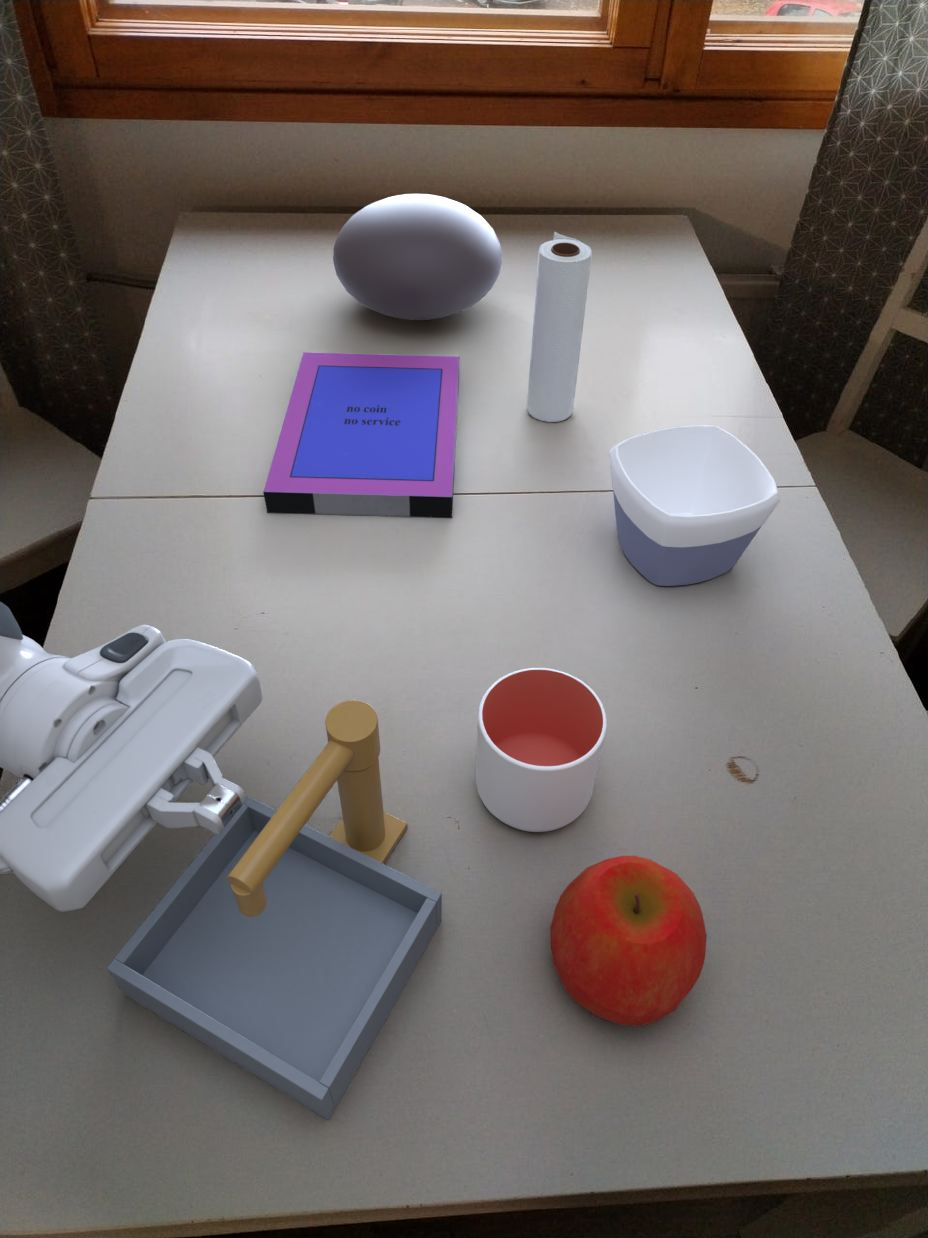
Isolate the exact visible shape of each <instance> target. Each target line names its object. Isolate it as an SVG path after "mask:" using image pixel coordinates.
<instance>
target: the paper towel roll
mask: <svg viewBox="0 0 928 1238" xmlns="http://www.w3.org/2000/svg"><path fill="white" fill-rule="evenodd" d="M537 255H538V256H537V267H536V279H535V280H536V281H535V293H534V306H533V307H534V308H533V319H532V332H531V333H532V334H531V345H530V346H531V347H530V357H529V358H530V359H529V371H528V383H527V385H528V386H527V396H526V397H527V399H526V410H527V412H528V414H529V415H530V416H531V417H532V418H533V419H536V420H538V421H541V422H546V423H547V422H548V423H559V422H563V421H564V420H567V419H569V418H570V417H571V416H572V414H573V411H574V406H575V397H576V390H577V383H578V382H577V381H578V374H579V373H578V372H579V364H580V356H581V347H582V339H583V331H584V323H585V315H586V308H587V299H588V290H589V283H590V274H591V265H592V258H593V250H592V249H591V247H590V245H588V244H586V243H584V242H582V241H580V240H578V239H577V238H573V237H569V236H567V235H563V234H560V233H559V232H556V231H554V232H553V239H551V240H548V241H545V242H544V243H541V244H540V246H539V249H538V254H537Z"/></svg>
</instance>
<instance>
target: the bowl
mask: <svg viewBox="0 0 928 1238" xmlns="http://www.w3.org/2000/svg"><path fill="white" fill-rule="evenodd" d="M608 454H609V455H608V456H609V466H610V467H609V468H610V475H611V487H612V494H613V503H614V514H615V524H616V532H617V533H616V535H617V539H618V542H619V544H620V547H621V549H622V552H623V554H624V555H625V557H626V559H627V560H628V561H629V562H630V564H631V565H632V566H633V567H634V569H636V571H637V572H639V573H640V574H641V575H642V576H643V577H644V578H645V579H646V580H647V581H648V582H650V583H651V584H653V585H654V586H661V587H672V586H673V587H674V586H686V585H692V584H698V583H702V582H706V581H709V580H712V579H715V578H717V577H719V576H722V575H724V574H725V573H727V572H729V571H731V570H732V569H733V568H734V566H735V565H736V564H737V562H738V561H739V560H740V558H741V557H742V555H743V553H744V552H745V550H747V548H748V547H749V545H750V543H751V542H752V541H753V540H754V538H755V536H757V534H758V532H759V531H760V529H761V528H762V526H764V524H765V523H767V520H768V519H769V518H770V516H771V515H772V513H773V512H774V511H775V509H776V507H777V506H778V505H779V503H780V502H781V498H780V493H779V490H778V485H777V483H776V480H775V478H774V477H773V476H772V474H771V473H770V471H769V469H768V468H767V466H766V465H765V464H764V463H763V462H762V460H761V459H760V458H759V456H758V455H757V454H756V453H755V452H754V451H753V450H752V449H750V448H749V446H747V445H746V444H745V443H744V442H742V441H741V440H740V439H738V437H736V435H734V434H733V433H730V432H729V431H727V430H726V429H724V428H722V427H720V426H718V425H712V424H711V425H709V424H691V425H679V426H671V427H665V428H659V429H654V430H651V431H647V432H643V433H639V434H636V435H633V436H631V437H628V438H626V439H624V440H622V441H620V442H619V443H616V444H615V445H614V446H613V447H612V448H611V449H610V451H609V453H608Z"/></svg>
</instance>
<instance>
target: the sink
mask: <svg viewBox="0 0 928 1238" xmlns="http://www.w3.org/2000/svg"><path fill="white" fill-rule="evenodd" d="M245 796H246V799H247V800H246V802H245V803H244V804H243V805H242V807H241V808H240V809H239V810H238V811H237V812H236V814H235V815H234V816H233V817H232V819H231V820H230V821H229V822H228V824H227V825H226V826H225V827H224V829H223V830H222V831H221V832H220V834H215V833H214V834H213V836H212V837H211V838H209V841H208V842H206V843H205V845H204V846H203V848H202V849H201V851H200V852H199V853H198V854H197V856H196V857H195V858H194V859H193V860H192V861H191V863H190V864H189V865H188V866H187V868H185V870H184V871H183V872H182V874H181V875H180V876H179V878H178V879H177V880H176V881H175V882H174V884H173V885H172V886H171V887H170V889H169V890H168V891H167V893H166V894H165V895H164V896H163V898H161V900H160V901H159V903H158V904H157V905H156V906H155V907H154V909H152V911H151V912H150V913H149V915H148V916H147V917H146V919H144V921H142V924H140V925H139V927H138V928H137V930H136V931H135V932H134V933H133V934H132V936H131V937H130V938H129V939H128V941H127V942H126V943H125V944H124V945H123V947H122V948H121V949H120V951H119V952H118V953H117V955H115V957H114V959H112V961H111V962H110V963H109V964H108V966H107V967H106V971H107V972H108V973H109V975H110V977H111V978H112V979H113V981H114V982H115V983H116V985H117V987H118V988H119V990H120V991H121V992H122V994H123V995H125V996H126V997H128V998H129V999H131V1000H133V1001H134V1002H135V1003H137V1004H139V1005H141V1006H143V1007H144V1008H145V1009H148V1010H149V1011H150V1012H153V1013H154V1014H155V1015H156V1016H159V1017H160V1018H162V1019H163V1020H165V1021H167V1022H168V1023H170V1024H171V1025H173V1026H175V1027H176V1028H178V1029H180V1030H181V1031H182V1032H184V1033H186V1034H187V1035H189V1036H191V1037H193V1038H194V1039H195V1040H197V1041H199V1042H201V1043H202V1044H203V1045H205V1046H207V1047H209V1048H210V1049H212V1050H213V1051H215V1052H217V1053H218V1054H220V1055H222V1056H223V1057H225V1058H226V1059H228V1060H229V1061H231V1062H233V1063H234V1064H236V1065H238V1066H239V1067H241V1068H242V1069H244V1070H246V1071H247V1072H249V1073H251V1074H252V1075H254V1076H256V1078H259V1079H261V1080H262V1081H264V1082H265V1083H267V1084H268V1085H270V1086H272V1087H273V1088H275V1089H276V1090H278V1091H280V1092H282V1093H283V1094H284V1095H286V1096H288V1097H290V1099H293V1100H294V1101H296V1102H298V1103H299V1104H301V1105H303V1106H304V1107H305V1108H307V1109H309V1110H311V1111H312V1112H314V1113H315V1114H317V1115H318V1116H320V1117H322V1118H324V1119H325V1120H327V1121H330V1119H331V1117H332V1115H333V1113H334V1112H335V1110H336V1108H337V1106H338V1105H339V1103H340V1101H341V1100H342V1098H343V1096H344V1094H345V1092H346V1091H347V1090H348V1087H349V1085H350V1084H351V1082H352V1080H353V1078H354V1076H355V1075H356V1073H357V1071H358V1070H359V1067H360V1066H361V1064H362V1063H363V1060H364V1059H365V1057H366V1055H367V1053H368V1052H369V1050H370V1048H371V1046H372V1045H373V1043H374V1041H375V1039H376V1037H377V1036H378V1034H379V1032H380V1030H381V1029H382V1027H383V1025H384V1024H385V1022H386V1020H387V1018H388V1017H389V1014H390V1013H391V1011H392V1009H393V1007H394V1006H395V1004H396V1003H397V1000H398V998H399V997H400V995H401V993H402V992H403V990H404V988H405V986H406V984H407V983H408V982H409V979H410V978H411V975H412V974H413V972H414V970H415V969H416V967H417V965H418V963H419V961H420V960H421V958H422V956H423V955H424V952H425V951H426V949H427V947H428V946H429V944H430V942H431V941H432V938H433V937H434V935H435V934H436V931H437V930H438V928H439V926H440V924H441V922H442V919H443V918H442V917H443V916H442V915H443V911H442V910H443V909H442V908H443V906H442V905H443V903H442V898H443V897H442V896H443V895H442V894H443V893H442V892H440V891H438V890H437V889H435V888H432V887H430V886H429V885H427V884H425V883H423V882H420V881H419V880H417V879H414V878H412V877H411V876H409V875H406V874H404V873H402V872H400V871H399V870H396V869H394V868H393V867H390V866H388V865H387V864H382V863H380V862H378V861H376V860H374V859H372V858H370V857H368V856H366V855H364V854H362V853H360V852H358V851H356V850H354V849H352V848H350V847H348V846H346V845H344V844H342V843H340V842H338V841H336V840H334V839H333V838H331V837H329V836H330V835H329V836H328V835H326V834H325V833H322V832H321V831H318V830H316V829H315V828H313V827H310V826H309V825H307V824H305V825H304V827H303V828H302V829H301V831H300V832H299V834H298V835H297V836H296V838H295V839H294V841H293V842H292V843H291V845H290V846H289V848H288V849H287V850H286V852H285V853H284V854H283V856H282V857H281V859H280V860H279V861H278V863H277V864H276V866H275V867H274V868H273V870H272V871H271V873H270V874H269V875H268V877H267V878H266V880H265V881H264V882H263V884H262V885H263V888H264V891H265V894H266V897H267V906H266V908H265V910H264V911H263V912H262V913H261V914H259V915H257V916H254V917H247V916H245V915H243V914H242V913H241V912H240V910H239V907H238V905H237V902H236V899H235V897H234V894H233V891H232V888H231V885H230V884H229V882H228V881H227V876H228V875H229V874H230V872H231V871H232V870H233V868H234V867H235V866H236V864H237V863H238V862H239V860H240V859H241V858H242V856H243V855H244V854H245V852H246V851H247V850H248V848H249V847H250V846H251V844H252V843H253V842H254V840H255V839H256V838H257V836H258V835H259V834H260V832H261V831H262V830H263V828H264V827H265V826H266V824H267V823H268V822H269V820H270V819H271V818H272V816H273V815H274V814H275V813H276V811H277V810H278V809H275V808H272V807H271V806H269V805H267V804H265V803H263V802H260V801H258V800H257V799H255V798H252V797H251V796H249V795H246V794H245Z"/></svg>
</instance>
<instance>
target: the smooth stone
mask: <svg viewBox="0 0 928 1238" xmlns="http://www.w3.org/2000/svg"><path fill="white" fill-rule="evenodd" d="M332 261H333V267H334V270H335V274H336V276H337V278H338V280H339V282H340V283H341V285H342V287H343V288H344V290H345V291H346V292H347V293H348V294H349V295H350V296H351V297H352V298H354V299H355V300H356V301H357V302H358V303H359V304H361V305H362V306H364V307H366V308H368V309H370V310H372V311H375V312H376V313H378V314H382V315H384V316H387V317H391V318H395V319H401V320H407V321H427V320H436V319H443V318H447V317H450V316H453V315H456V314H459V313H461V312H462V311H464V310H467V309H469V308H471V307H473V306H475V305H476V304H477V303H478V302H479V301H481V300H482V299H483V298H484V297H485V296H486V295H487V294H488V293H489V292H490V291H491V290H492V289H493V287H494V285H495V284H496V282H497V280H498V277H499V276H500V273H501V268H502V264H503V255H502V246H501V243H500V240H499V238H498V236H497V233H496V232H495V230H494V228H493V227H492V226H491V225H490V224H489V223H488V221H486V219H485V218H484V217H483V216H482V215H481V214H480V213H478V212H476V211H475V210H473V209H472V208H470V207H469V206H467V205H466V204H463V203H461V202H459V201H456V200H453V199H450V198H448V197H445V196H440V195H435V194H428V193H404V194H396V195H393V196H388V197H386V198H383V199H380V200H379V199H378V200H377V201H374V202H372V203H369V204H368V205H366V206H364V207H363V208H361V209H360V210H358V211H357V212H355V213H354V214H353V215H352V216H351V217H350V218H349V219H348V220H347V221H346V223H344V225H343V226H342V227H341V229H340V230H339V232H338V234H337V236H336V238H335V242H334V245H333V251H332Z"/></svg>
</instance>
